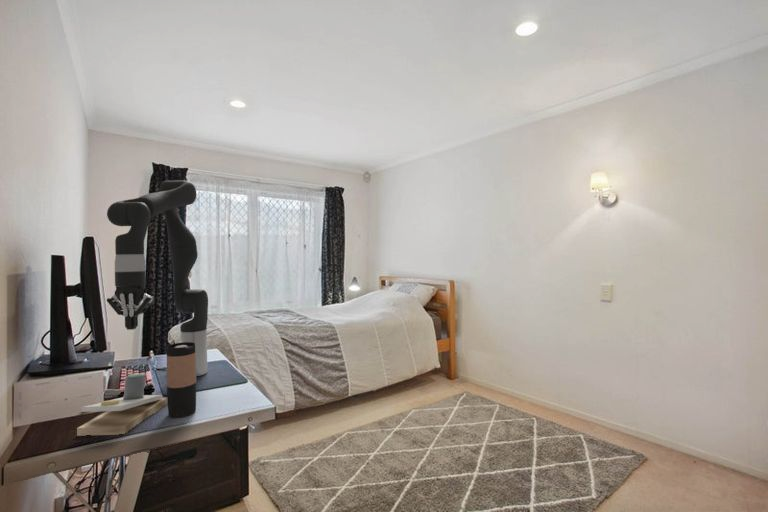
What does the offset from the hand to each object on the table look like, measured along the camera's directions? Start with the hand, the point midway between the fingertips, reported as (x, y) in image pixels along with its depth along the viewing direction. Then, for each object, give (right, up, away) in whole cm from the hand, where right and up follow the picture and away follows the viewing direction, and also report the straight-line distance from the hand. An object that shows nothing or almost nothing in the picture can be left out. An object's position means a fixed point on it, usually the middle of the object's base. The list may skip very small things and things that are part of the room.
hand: (131, 329), depth 111 cm
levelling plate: (0, -21, -3) cm, 21 cm away
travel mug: (+15, -25, 0) cm, 29 cm away
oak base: (+1, -25, -3) cm, 25 cm away
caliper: (-12, -26, +14) cm, 32 cm away
